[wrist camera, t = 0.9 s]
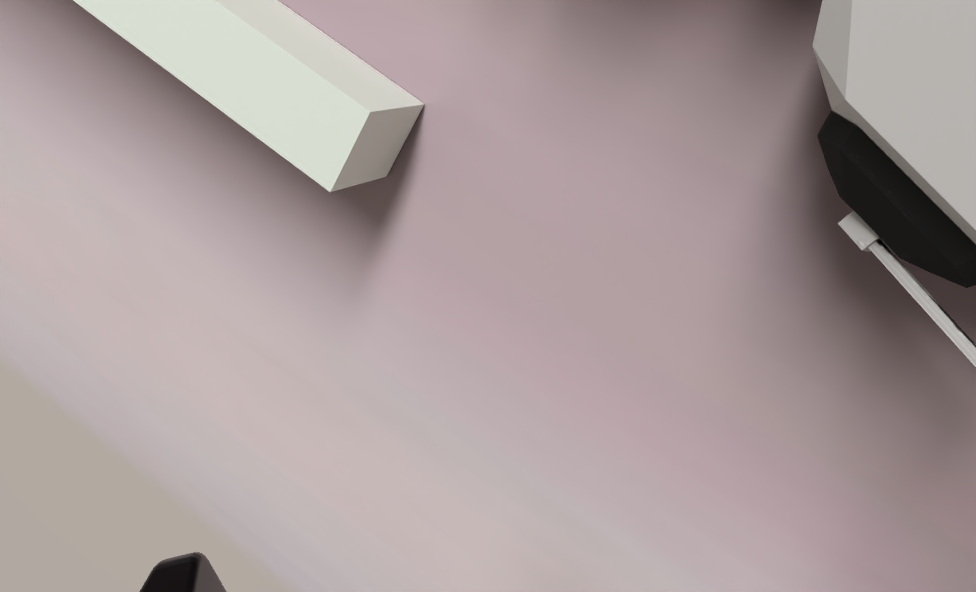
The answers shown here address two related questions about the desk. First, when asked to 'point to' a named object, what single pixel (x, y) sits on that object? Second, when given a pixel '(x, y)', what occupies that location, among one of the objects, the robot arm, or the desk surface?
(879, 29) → the robot toy
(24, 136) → the desk surface
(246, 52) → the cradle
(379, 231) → the desk surface
